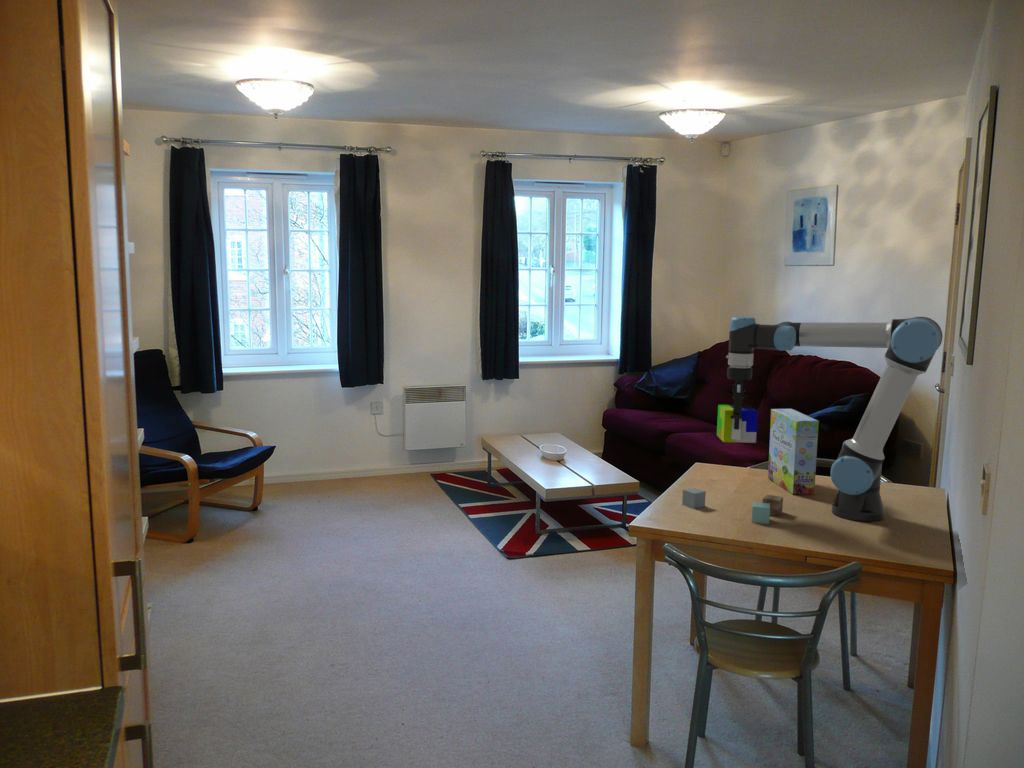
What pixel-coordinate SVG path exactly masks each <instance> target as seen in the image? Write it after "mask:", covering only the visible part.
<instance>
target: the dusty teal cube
mask: <svg viewBox="0 0 1024 768" xmlns="http://www.w3.org/2000/svg"><path fill="white" fill-rule="evenodd" d="M770 516H771V515H770V503H763V502H755V501H753V502H752V511H751V523H753V524H754V523H755V524H764V525H769V524H770Z"/></svg>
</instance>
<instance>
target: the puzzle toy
mask: <svg viewBox="0 0 1024 768" xmlns="http://www.w3.org/2000/svg"><path fill="white" fill-rule="evenodd" d="M733 408H734V404H718V405H717V418H716V419H717V421H716V423H717V425H716V436H717V438H719V440H721V441H722V442H723V443H747V444H749V443H750V444H756V443H757V432H758V431H757V430H758V415H759V413H758V412H759V411H758V409H755V407H753V406H751V405H750V404H748V405H746V404H742V412H741V415H742V418H741V437H740V440H737V439H731V435H732V418H730V416H733Z"/></svg>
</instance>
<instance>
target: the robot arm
mask: <svg viewBox="0 0 1024 768" xmlns="http://www.w3.org/2000/svg"><path fill="white" fill-rule="evenodd" d="M728 333H729V334H728V335H729V336H728V354H727V355H726V356H725V358H726V359H727V364H728V367H727V368H726V369H727V370H726V378H727V379H728V380H732V381H733V380H734V383H732V387H731V389H732V399H733V405H734V408H733V416H730V418H732V435H731V439H737V440H740V437H741V418H742V415H741V412H742V405H743V400H744V399H745V392H746V384H744V381H751V379H752V378H753V368H752V366H754V350H755V349H758V350H759V349H760V350H761V349H762V350H771V351H773V350H774V351H780V352H782V351H792V350H793V349H794V348H795V347H812V348H813V347H816V348H817V347H819V348H820V347H822V348H862V349H863V348H864V349H865V348H866V349H868V348H871V349H872V348H873V349H875V348H877V349H879V348H880V349H886V352H885V353H884V360H885V361H886V366H885V367H884V369H883V372H882V374H881V375H880V376H881V377H880V379H879V381H878V383H877V385H876V387H875V389H874V391H873V393H872V396H871V398H870V400H869V402H868V404H867V407H866V408H865V411H864V413H863V415H862V417H861V419H860V421H859V424H858V426H857V428H856V430H855V433H854V435H853V437H852V438H849V439H847V440H844V441H843V443H842V447H841V449H840V452H839V453H838V456H837V459H835V461H834V462H833V463H832V465H831V466H830V467H831V468H830V473H829V474H830V479H831V481H832V482H831V483H833V485H834V486H835V488H837V489H838V490H837V492H836V493H835V497H834V499H833V501H832V504H831V513H833V514H834V515H835V516H838V517H840V518H844V519H847V520H851V521H860V522H876V521H877V522H878V521H881V520H883V519H884V516H885V508H884V504H883V500H882V497H881V483H882V482H881V480H882V468H883V462H884V461H885V458H886V457H885V454H884V448H885V445H886V442H887V441H888V438H889V437H890V434H891V432H892V430H893V428H894V426H895V424H896V422H897V420H898V418H899V415H900V413H901V411H902V409H903V407H904V405H905V403H906V401H907V399H908V396H909V395H910V393H911V391H912V388H913V387H914V384H915V381H916V379H918V378H917V377H918V376H920V375H922V374H925V373H927V370H928V369H929V367H930V364H931V362H932V360H933V358H934V357H935V354H936V352H937V350H939V348H940V346H941V345H942V343H943V338H944V337H943V331H942V328H941V327H940V324H938V322H936V321H935V320H934V319H932V318H929V317H927V316H915V317H914V316H913V317H910V318H899V319H898V318H897V319H895V318H894V319H891V320H890V321H888V322H792V321H782V322H779V323H776V324H761V323H760V324H759V323H757V321H756V318H755V317H754V316H733V317H731V319H730V325H729V330H728Z"/></svg>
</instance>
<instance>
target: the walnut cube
mask: <svg viewBox="0 0 1024 768" xmlns="http://www.w3.org/2000/svg"><path fill="white" fill-rule="evenodd" d="M762 503H770V516H773V517H779V516H780V515H781V514H782V513H783V508H784V507H783V506H784V496H777V495H774V494H766V495H765V496H764V497H762Z"/></svg>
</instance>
